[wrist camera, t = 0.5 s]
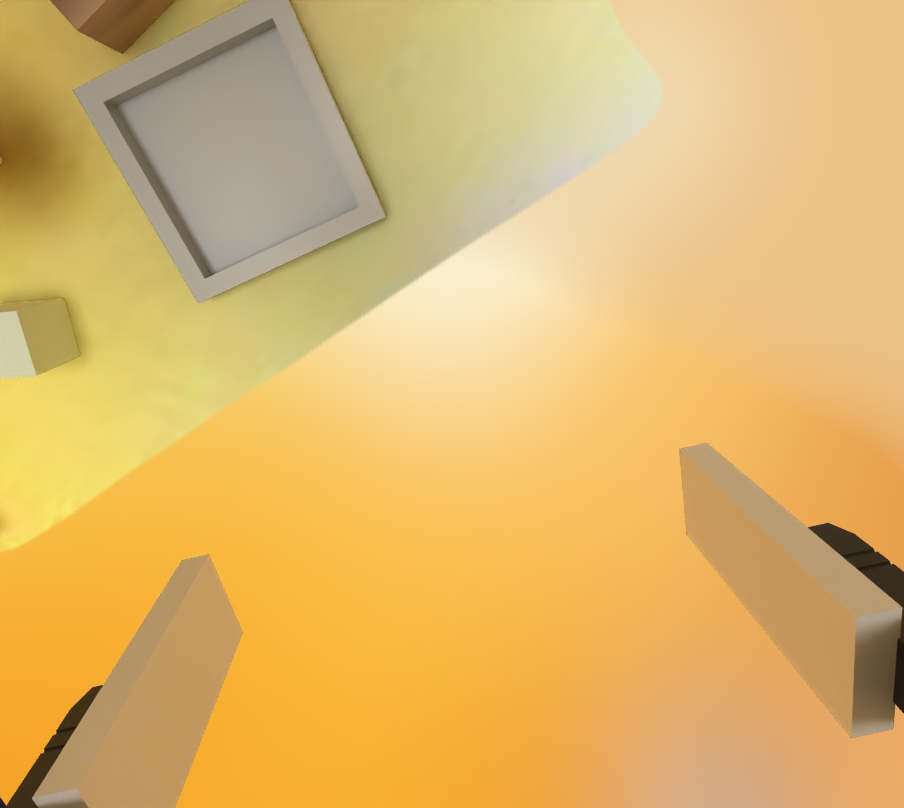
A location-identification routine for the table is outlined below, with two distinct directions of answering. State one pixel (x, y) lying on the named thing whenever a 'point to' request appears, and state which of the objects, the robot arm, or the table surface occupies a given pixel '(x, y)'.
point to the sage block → (35, 337)
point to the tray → (234, 146)
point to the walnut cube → (112, 19)
